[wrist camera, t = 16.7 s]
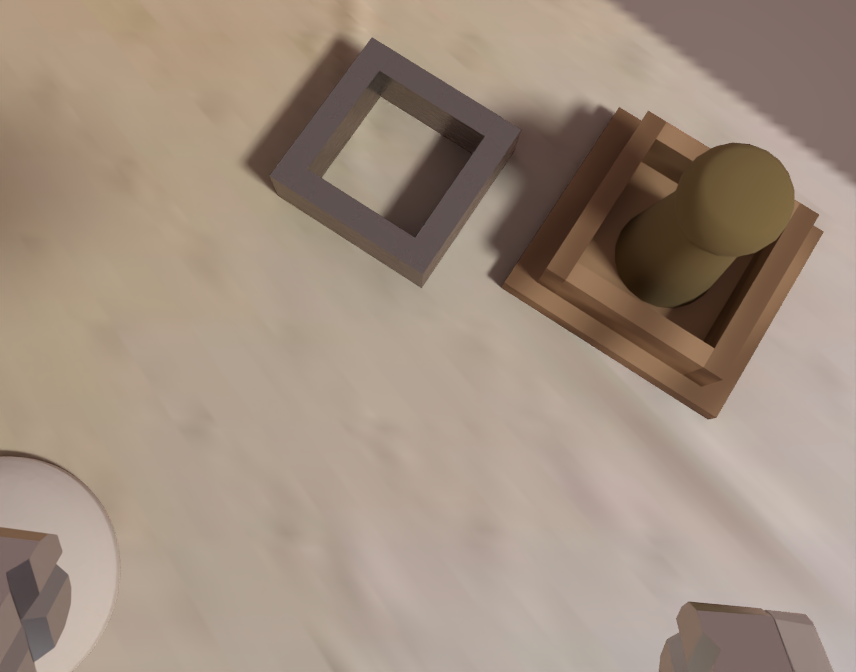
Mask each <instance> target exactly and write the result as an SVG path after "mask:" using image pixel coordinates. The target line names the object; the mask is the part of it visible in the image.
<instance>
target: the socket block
mask: <svg viewBox="0 0 856 672" xmlns="http://www.w3.org/2000/svg"><path fill="white" fill-rule="evenodd" d="M380 96H381V97H383V98H385V99H386V100H388V101H389V102H391V103H393V104H394V105H396V106H397V107H399V108H401V109H402V110H404V111H405V112H407V113H409V114H410V115H412V116H413V117H415V118H417V119H418V120H420V121H421V122H423V123H425V124H426V125H428V126H429V127H431V128H433V129H434V130H436V131H437V132H439V133H441V134H442V135H444V136H445V137H447V138H449V139H450V140H452V141H453V142H455V143H457V144H458V145H460V146H461V147H463V148H465V149H466V150H468V151H469V152H471V153H473V154H472V156H471V157H470V159H469V160H468V162H467V163H466V165H465V166H464V167H463V169H462V170H461V172H460V173H459V175H458V176H457V178H456V179H455V180H454V182H453V183H452V185H451V186H450V188H449V189H448V191H447V192H446V194H445V195H444V196H443V198H442V199H441V201H440V202H439V204H438V205H437V207H436V208H435V210H434V211H433V212H432V214H431V215H430V217H429V218H428V220H427V221H426V223H425V224H424V226H423V227H422V228H421V230H420V231H419V233H418V234H417V236H416V237H413V236H412V235H410V234H408V233H407V232H405V231H404V230H402V229H401V228H399V227H397V226H396V225H394V224H393V223H391V222H390V221H388V220H386V219H385V218H383V217H382V216H380V215H379V214H377V213H375V212H374V211H372V210H371V209H369V208H368V207H366V206H364V205H363V204H361V203H360V202H358V201H357V200H355V199H354V198H352V197H350V196H349V195H347V194H346V193H344V192H343V191H341V190H339V189H338V188H336V187H335V186H333V185H332V184H330V183H328V182H327V181H325V180H324V179H322V178H321V177H322V176H323V175H324V173H325V172H326V170H327V169H328V168H329V166H330V165H331V164H332V162H333V161H334V159H335V158H336V157H337V155H338V154H339V153H340V151H341V150H342V148H343V147H344V146H345V144H346V143H347V142H348V140H349V139H350V137H351V136H352V135H353V133H354V132H355V131H356V129H357V128H358V126H359V125H360V124H361V122H362V121H363V120H364V118H365V117H366V115H367V114H368V113H369V111H370V110H371V109H372V107H373V106H374V104H375V103H376V102H377V100H378V99H379V98H380ZM520 132H521V129H519V128H518V127H516V126H515V125H513V124H511V123H510V122H508V121H507V120H505V119H503V118H502V117H500V116H498V115H497V114H495V113H494V112H492V111H490V110H489V109H487V108H485V107H484V106H482V105H481V104H479V103H477V102H476V101H474V100H473V99H471V98H469V97H468V96H466V95H464V94H463V93H461V92H460V91H458V90H456V89H455V88H453V87H452V86H450V85H448V84H447V83H445V82H443V81H442V80H440V79H439V78H437V77H435V76H434V75H432V74H430V73H429V72H427V71H426V70H424V69H422V68H421V67H419V66H418V65H416V64H414V63H413V62H411V61H409V60H408V59H406V58H405V57H403V56H401V55H400V54H398V53H397V52H395V51H393V50H392V49H390V48H388V47H387V46H385V45H384V44H382V43H380V42H379V41H377V40H375V39H374V38H371V39H370V41H369V42H368V43H367V45H366V46H365V47H364V49H363V50H362V52H361V53H360V54H359V56H358V57H357V58H356V60H355V61H354V62H353V64H352V65H351V66H350V68H349V69H348V70H347V72H346V73H345V74H344V76H343V77H342V78H341V80H340V81H339V83H338V84H337V85H336V87H335V88H334V89H333V91H332V92H331V93H330V95H329V96H328V97H327V99H326V100H325V101H324V103H323V104H322V105H321V107H320V108H319V109H318V111H317V112H316V114H315V115H314V116H313V118H312V119H311V120H310V122H309V123H308V124H307V126H306V127H305V128H304V130H303V131H302V132H301V134H300V135H299V136H298V138H297V139H296V141H295V142H294V143H293V145H292V146H291V147H290V149H289V150H288V151H287V153H286V154H285V155H284V157H283V158H282V159H281V161H280V162H279V163H278V165H277V166H276V167H275V169H274V170H273V172H272V173H271V174H270V178H271V181H272V183H273V185H274V188H275V190H276V192H277V195H278V196H280V197H281V198H283V199H284V200H286V201H287V202H289V203H291V204H292V205H294V206H295V207H297V208H298V209H300V210H301V211H303V212H305V213H306V214H308V215H309V216H311V217H312V218H314V219H315V220H317V221H319V222H320V223H322V224H323V225H325V226H326V227H328V228H329V229H331V230H333V231H334V232H336V233H337V234H339V235H340V236H342V237H343V238H345V239H346V240H348V241H350V242H351V243H353V244H354V245H356V246H357V247H359V248H360V249H362V250H364V251H365V252H367V253H368V254H370V255H371V256H373V257H374V258H376V259H378V260H379V261H381V262H382V263H384V264H385V265H387V266H388V267H390V268H392V269H393V270H395V271H396V272H398V273H399V274H401V275H402V276H404V277H406V278H407V279H409V280H410V281H412V282H413V283H415V284H416V285H418V286H420V287H421V288H422V287H423V285H424V284H425V282H426V281H427V279H428V278H429V276H430V275H431V273H432V272H433V270H434V269H435V267H436V266H437V264H438V263H439V261H440V260H441V258H442V257H443V256H444V254H445V253H446V251H447V250H448V248H449V247H450V245H451V244H452V242H453V241H454V239H455V238H456V236H457V235H458V233H459V232H460V230H461V229H462V227H463V226H464V225H465V223H466V222H467V220H468V219H469V217H470V216H471V214H472V213H473V211H474V210H475V208H476V207H477V205H478V204H479V202H480V201H481V199H482V198H483V196H484V195H485V194H486V192H487V191H488V189H489V188H490V186H491V185H492V183H493V182H494V180H495V179H496V177H497V176H498V174H499V173H500V171H501V170H502V168H503V167H504V165H505V164H506V163H507V161H508V160H509V158H510V157H511V155H512V154H513V152H514V150H515V147H516V144H517V141H518V138H519V135H520Z"/></svg>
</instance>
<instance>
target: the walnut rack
mask: <svg viewBox="0 0 856 672" xmlns="http://www.w3.org/2000/svg"><path fill="white" fill-rule="evenodd" d="M709 149H710V148H709V147H707V146H705V145H704V144H702V143H701V142H699V141H697V140H696V139H694V138H692V137H691V136H689V135H687V134H686V133H684V132H682V131H681V130H679V129H677V128H676V127H674V126H673V125H671V124H669V123H668V122H666V121H664V120H663V119H661V118H659V117H658V116H656V115H654V114H653V113H651V112H649V111H648V112H647V113H646V115H645V116H644V118H643V119H642V121H641V120H639V119H638V118H636V117H634V116H633V115H631V114H630V113H628V112H626V111H625V110H623V109H621V108H620V107H619V108H618V110H617V111H616V113H615V115H614V116H613V118H612V119H611V121H610V122H609V124H608V125H607V127H606V128H605V130H604V131H603V133H602V134H601V136H600V137H599V139H598V140H597V142H596V143H595V145H594V147H593V148H592V150H591V151H590V153H589V154H588V156H587V157H586V159H585V160H584V162H583V163H582V165H581V166H580V168H579V169H578V171H577V172H576V174H575V175H574V177H573V179H572V180H571V182H570V183H569V185H568V186H567V188H566V189H565V191H564V192H563V194H562V195H561V197H560V198H559V200H558V201H557V203H556V204H555V206H554V208H553V209H552V211H551V212H550V214H549V215H548V217H547V218H546V220H545V221H544V223H543V224H542V226H541V227H540V229H539V230H538V232H537V233H536V235H535V236H534V238H533V240H532V241H531V243H530V244H529V246H528V247H527V249H526V250H525V252H524V253H523V255H522V256H521V258H520V259H519V261H518V262H517V264H516V265H515V267H514V269H513V270H512V272H511V273H510V275H509V276H508V278H507V279H506V281H505V282H504V284H503V286H502V288H503V289H504V290H506V291H508V292H509V293H511V294H512V295H514V296H515V297H517V298H519V299H520V300H522V301H523V302H525V303H526V304H528V305H530V306H531V307H533V308H534V309H536V310H537V311H539V312H540V313H542V314H544V315H545V316H547V317H548V318H550V319H551V320H553V321H555V322H556V323H558V324H559V325H561V326H562V327H564V328H566V329H567V330H569V331H570V332H572V333H573V334H575V335H577V336H578V337H580V338H581V339H583V340H584V341H586V342H588V343H589V344H591V345H592V346H594V347H595V348H597V349H599V350H600V351H602V352H603V353H605V354H606V355H608V356H609V357H611V358H613V359H614V360H616V361H617V362H619V363H620V364H622V365H624V366H625V367H627V368H628V369H630V370H631V371H633V372H635V373H636V374H638V375H639V376H641V377H642V378H644V379H646V380H647V381H649V382H650V383H652V384H653V385H655V386H657V387H658V388H660V389H661V390H663V391H664V392H666V393H668V394H669V395H671V396H672V397H674V398H675V399H677V400H679V401H680V402H682V403H683V404H685V405H686V406H688V407H689V408H691V409H693V410H694V411H696V412H697V413H699V414H700V415H702V416H704V417H705V418H707V419H712V418H717V416H718V414H719V412H720V411H721V409H722V407H723V405H724V404H725V402H726V400H727V398H728V397H729V395H730V393H731V392H732V390H733V388H734V386H735V385H736V383H737V381H738V379H739V378H740V376H741V374H742V372H743V371H744V369H745V367H746V366H747V364H748V362H749V360H750V359H751V357H752V355H753V353H754V352H755V350H756V348H757V346H758V345H759V343H760V341H761V340H762V338H763V336H764V334H765V333H766V331H767V329H768V327H769V326H770V324H771V322H772V320H773V319H774V317H775V315H776V314H777V312H778V310H779V308H780V307H781V305H782V303H783V301H784V300H785V298H786V296H787V294H788V293H789V291H790V289H791V287H792V286H793V284H794V282H795V281H796V279H797V277H798V275H799V274H800V272H801V270H802V268H803V267H804V265H805V263H806V261H807V260H808V258H809V256H810V255H811V253H812V251H813V249H814V248H815V246H816V244H817V242H818V241H819V239H820V237H821V235H822V234H823V231H822V230H820V229H818V228H817V227H815V226H813V225H814V223H815V221H816V219H817V218H818V216H819V214H817V213H816V212H814V211H812V210H811V209H809V208H808V207H806V206H804V205H803V204H801V203H799V202H798V201H796V200H794V209H793V212H792V215H791V218H790V221H789V223H788V225H787V226H786V228H785V229H784V230H783V232H782V233H781V234H780V235H779V237H778V238H777V239H776V240H775V241H774V242H772V243H770V244H769V245H767V246H766V247H764V248H762V249H761V250H759V251H757V252H756V253H752V254H748V255H743V256H739V257H737V258H736V259H735V260H734V261H733V262H732V263H731V265H730V266H729V267H728V268H727V269H726V270H725V271H724V273H723V274H722V275H721V276H720V277H719V278H718V279H717V280H716V282H715V283H714V284H713V285H712V286H711V287H710V288H709V290H708V291H707V292H706V293H705V294H704V295H703V296H702V297H701V298H699V299H697V300H696V301H694V302H693V303H691V304H689V305H685V306H681V307H677V308H665V307H656V306H654V305H651V304H649V303H646V302H644V301H642V300H640V299H639V298H638V297H637V296H635V295H634V294H633V293H632V292H630V291H629V290H628V288H627V287H626V285H625V284H624V282H623V281H622V279H621V278H620V276H619V273H618V270H617V266H616V263H615V245H616V242H617V240H618V237H619V235H620V232H621V230H622V229H623V228H624V227H625V225H626V224H627V223H628V222H629V221H630V219H632V218H633V217H635V216H636V215H638V214H640V213H641V212H643V211H644V210H646V209H647V208H649V207H651V206H652V205H654V204H655V203H657V202H659V201H660V200H662V199H663V198H665V197H666V196H668V195H670V194H671V193H673V192H674V191H676V189H677V186H678V183H679V180H680V178H681V175H682V174H683V173H684V171H685V170H686V169H687V168H688V167H689V165H690V164H691V163H692V162H693V161H694V159H695V158H696V157H698V156H699V155H701V154H703V153H704V152H706V151H708V150H709Z"/></svg>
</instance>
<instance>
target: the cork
mask: <svg viewBox="0 0 856 672" xmlns="http://www.w3.org/2000/svg"><path fill="white" fill-rule="evenodd" d="M793 209H794V187H793V184H792V182H791V179H790V176H789V173H788V171H787V170H786V169H785V167H784V166H783V165H782V163H781V162H780V160H778V159H777V158H776V157H774V156H773V155H772V154H770V153H769V152H768V151H766V150H763V149H761V148H758V147H756V146H753V145H750V144H741V143H729V144H725V145H720V146H716V147H714V148H711V149H709V150H708V151H706V152H704V153H703V154H701V155H699V156H698V157H696V158H695V159H694V161H693V162H692V163H691V164H690V165H689V167H688V168H687V169H686V170H685V171H684V173H683V174H682V175H681V178H680V180H679V183H678V186H677V189H676V191H674V192H673V193H671V194H670V195H668V196H666V197H665V198H663V199H662V200H660V201H659V202H657V203H655V204H654V205H652V206H651V207H649V208H647V209H646V210H644V211H643V212H641V213H640V214H638V215H636V216H635V217H633V218H632V219H630V221H629V222H628V223H627V224H626V225H625V227H624V228H623V229H622V230H621V232H620V235H619V237H618V240H617V242H616V245H615V263H616V266H617V270H618V273H619V276H620V278H621V279H622V281H623V282H624V284H625V285H626V287H627V288H628V290H629V291H630V292H632V293H633V294H634V295H635V296H637V297H638V298H639V299H640V300H642V301H644V302H646V303H649V304H651V305H654V306H656V307H665V308H677V307H681V306H685V305H689V304H691V303H693V302H694V301H696V300H697V299H699V298H701V297H702V296H703V295H704V294H705V293H706V292H707V291H708V290H709V288H710V287H711V286H712V285H713V284H714V283H715V282H716V280H717V279H718V278H719V277H720V276H721V275H722V274H723V273H724V271H725V270H726V269H727V268H728V267H729V266H730V265H731V263H732V262H733V261H734V260H735V259H736V258H737V257H739V256H743V255H748V254H752V253H756V252H757V251H759V250H761V249H762V248H764V247H766V246H767V245H769V244H770V243H772V242H774V241H775V240H776V239H777V238H778V237H779V235H780V234H781V233H782V232H783V230H784V229H785V228H786V226H787V225H788V223H789V221H790V218H791V215H792V212H793Z"/></svg>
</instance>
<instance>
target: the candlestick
mask: <svg viewBox="0 0 856 672" xmlns="http://www.w3.org/2000/svg"><path fill="white" fill-rule="evenodd" d="M0 527H4V528H11V529H19V530H26V531H34V532H41V533H48V534H56V535H58V538H59V541H60V545H61V548H62V551H63V552H62V554H61V556H60V558H59V560H58V562H57V563H56V564H57V565H58V566H59V567H60V568H61V569H63V570H64V571H65V572H66V573H67V574H68V575H69V579H70V583H71V606H70V609H69V613H68V617H67V621H66V624H65V628H64V630H63V632H62V634H61V636H60V638H59V640H58V642H57V644H56V646H55V648H53V649H52V650H51V651H49V652H48V653H46V654H45V655H44V656H42V657H41V658H40V659H38V660H37V661H35V667H36V671H37V672H72V671H73V670H74V669H76V668H77V667H78V666H79V665H80V664H81V663H82V662H83V660H84V659H85V658H86V657H87V656H88V655H89V653H90V652H91V651H92V650H93V648H94V647H95V645H96V644H97V643H98V641H99V639H100V638H101V636H102V634H103V633H104V631H105V629H106V627H107V625H108V623H109V620H110V618H111V615H112V613H113V610H114V607H115V603H116V600H117V595H118V590H119V584H120V553H119V546H118V541H117V537H116V534H115V531H114V528H113V525H112V523H111V520H110V518H109V516H108V514H107V512H106V510H105V509H104V507H103V505H102V504H101V502H100V501H99V500H98V498H97V497H96V496H95V495H94V493H93V492H92V491H91V490H90V489H89V488H88V487H87V486H86V485H85V484H84V483H83V482H81V481H80V480H79V479H78V478H76V477H75V476H73V475H72V474H70V473H69V472H67V471H65V470H64V469H62V468H60V467H57V466H55V465H53V464H50V463H47V462H44V461H41V460H37V459H32V458H25V457H13V456H0Z"/></svg>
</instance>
